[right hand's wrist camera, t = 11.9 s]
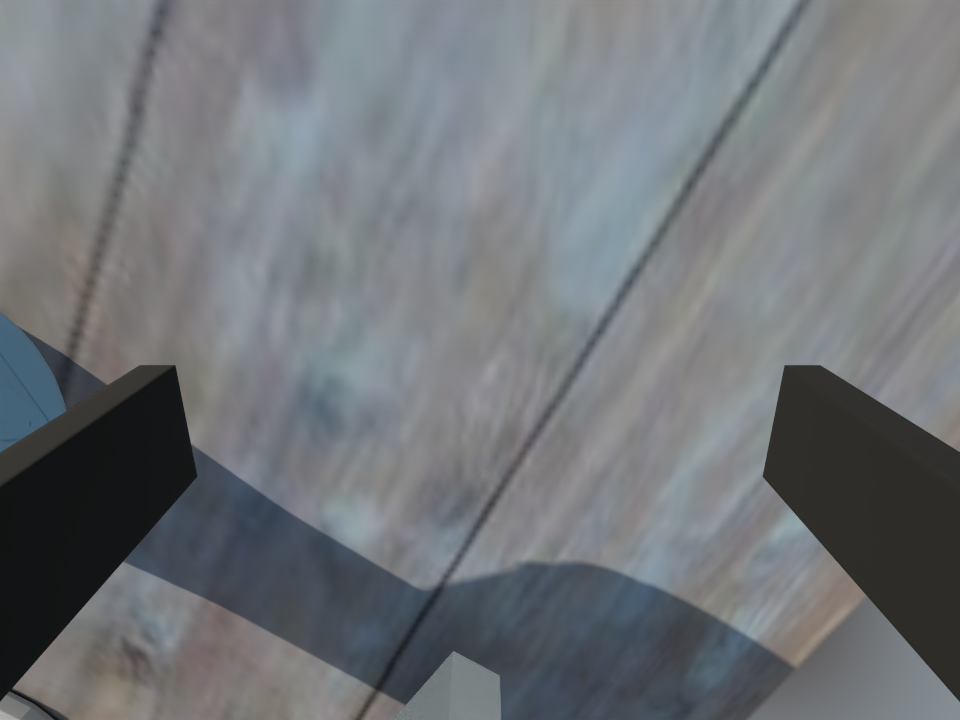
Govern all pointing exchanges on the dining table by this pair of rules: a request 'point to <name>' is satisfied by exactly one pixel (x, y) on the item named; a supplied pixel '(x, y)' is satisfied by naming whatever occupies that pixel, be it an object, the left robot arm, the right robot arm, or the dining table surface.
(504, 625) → the dining table surface
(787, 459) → the right robot arm
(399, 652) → the dining table surface
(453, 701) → the bar
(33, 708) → the wall clock
